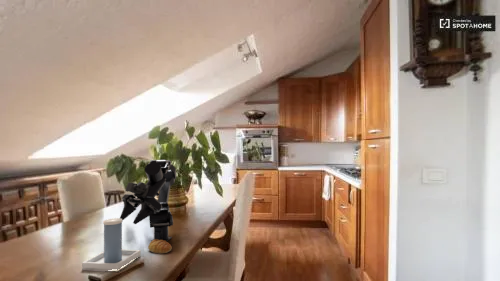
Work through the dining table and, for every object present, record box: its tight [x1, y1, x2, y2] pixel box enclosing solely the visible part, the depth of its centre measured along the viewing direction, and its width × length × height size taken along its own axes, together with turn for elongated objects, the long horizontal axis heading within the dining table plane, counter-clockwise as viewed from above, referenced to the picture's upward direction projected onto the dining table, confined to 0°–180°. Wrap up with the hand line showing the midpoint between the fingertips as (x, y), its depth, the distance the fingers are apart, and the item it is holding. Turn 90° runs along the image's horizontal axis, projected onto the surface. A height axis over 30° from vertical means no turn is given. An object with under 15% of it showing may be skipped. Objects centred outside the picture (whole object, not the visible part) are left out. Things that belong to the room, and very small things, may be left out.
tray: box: [81, 248, 142, 272], centre depth 99 cm, size 13×13×2 cm
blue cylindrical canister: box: [102, 217, 123, 263], centre depth 99 cm, size 6×6×14 cm
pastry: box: [147, 239, 173, 254], centre depth 111 cm, size 9×7×4 cm
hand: (127, 221), depth 104 cm, fingers open, 9 cm apart
